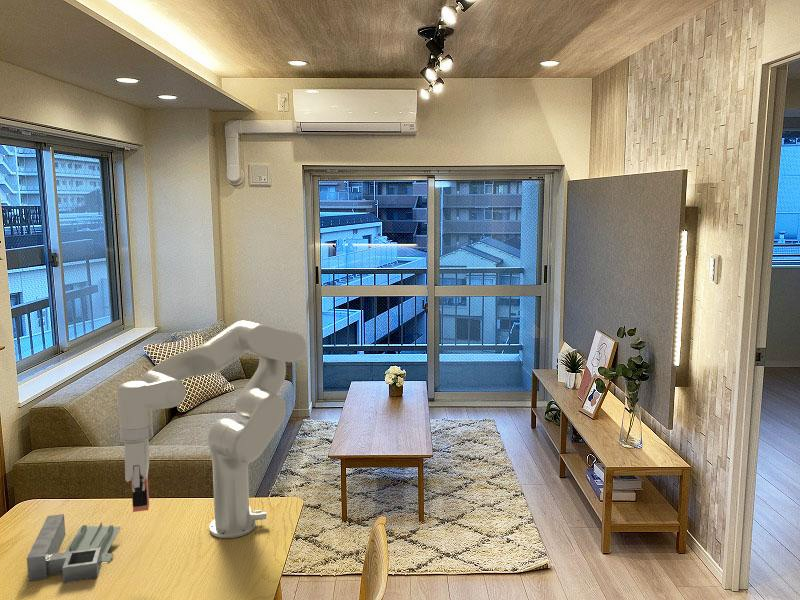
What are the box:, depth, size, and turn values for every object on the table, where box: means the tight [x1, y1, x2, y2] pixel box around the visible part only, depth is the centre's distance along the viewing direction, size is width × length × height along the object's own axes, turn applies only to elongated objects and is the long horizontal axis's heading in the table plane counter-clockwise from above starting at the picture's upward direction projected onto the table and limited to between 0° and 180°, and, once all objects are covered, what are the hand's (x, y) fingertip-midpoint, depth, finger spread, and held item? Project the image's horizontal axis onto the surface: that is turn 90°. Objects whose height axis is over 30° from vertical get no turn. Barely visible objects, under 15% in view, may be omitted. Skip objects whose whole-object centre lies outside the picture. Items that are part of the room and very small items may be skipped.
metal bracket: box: [64, 521, 122, 564], centre depth 171 cm, size 14×6×15 cm
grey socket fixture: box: [26, 513, 102, 584], centre depth 168 cm, size 16×25×6 cm, turn 17°
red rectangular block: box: [130, 475, 150, 513], centre depth 161 cm, size 4×4×10 cm
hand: (141, 501), depth 162 cm, fingers closed on red rectangular block, 3 cm apart
